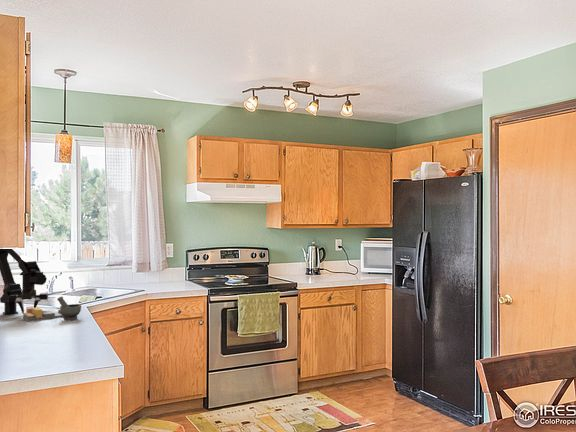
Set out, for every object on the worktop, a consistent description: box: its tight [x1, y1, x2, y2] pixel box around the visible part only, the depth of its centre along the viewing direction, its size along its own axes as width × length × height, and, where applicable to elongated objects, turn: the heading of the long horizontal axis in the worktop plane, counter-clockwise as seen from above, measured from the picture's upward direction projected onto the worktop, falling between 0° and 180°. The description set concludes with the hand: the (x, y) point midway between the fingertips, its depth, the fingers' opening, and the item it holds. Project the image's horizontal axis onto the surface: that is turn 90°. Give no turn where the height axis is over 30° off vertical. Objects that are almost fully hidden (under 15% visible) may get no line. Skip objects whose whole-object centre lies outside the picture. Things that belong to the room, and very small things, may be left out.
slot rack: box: [22, 308, 64, 322], centre depth 264 cm, size 10×20×3 cm, turn 130°
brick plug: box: [25, 305, 34, 313], centre depth 270 cm, size 9×3×4 cm, turn 30°
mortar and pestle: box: [57, 295, 82, 322], centre depth 258 cm, size 11×9×12 cm
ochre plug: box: [32, 306, 43, 318], centre depth 262 cm, size 9×3×4 cm, turn 39°
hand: (28, 313), depth 270 cm, fingers open, 5 cm apart
